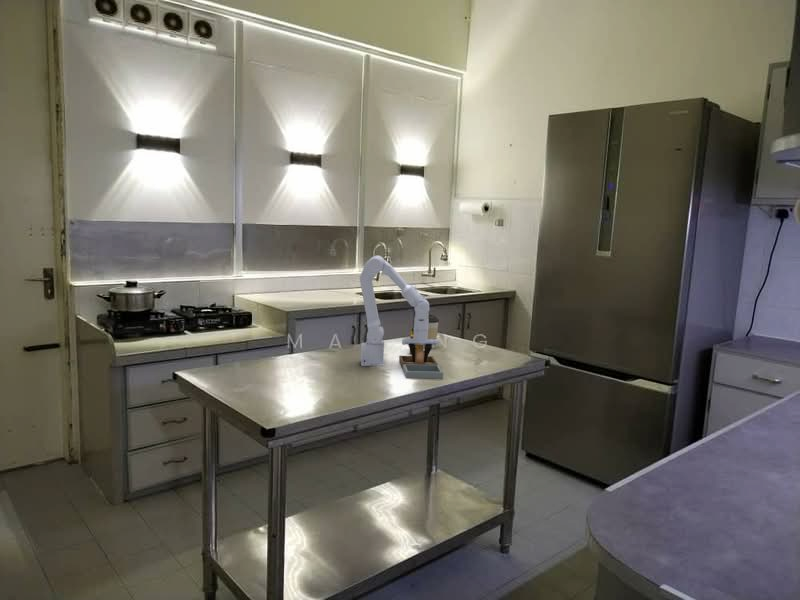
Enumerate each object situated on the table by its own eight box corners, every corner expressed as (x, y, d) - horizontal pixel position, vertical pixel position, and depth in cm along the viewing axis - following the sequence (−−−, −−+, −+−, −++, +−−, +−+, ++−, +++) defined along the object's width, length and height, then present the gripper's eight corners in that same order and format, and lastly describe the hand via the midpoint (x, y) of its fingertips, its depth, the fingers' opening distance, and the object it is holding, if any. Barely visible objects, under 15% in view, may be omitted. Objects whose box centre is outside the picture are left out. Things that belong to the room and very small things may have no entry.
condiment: (406, 355, 252) (407, 329, 250) (412, 351, 260) (413, 325, 258) (422, 358, 250) (423, 331, 248) (427, 353, 257) (429, 327, 256)
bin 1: (402, 370, 228) (402, 363, 228) (399, 362, 240) (399, 355, 239) (437, 371, 230) (437, 363, 229) (432, 363, 241) (432, 356, 241)
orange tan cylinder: (414, 366, 233) (415, 352, 232) (413, 364, 236) (414, 349, 236) (424, 366, 233) (425, 352, 232) (423, 364, 237) (423, 349, 236)
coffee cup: (437, 349, 266) (439, 317, 264) (418, 349, 266) (420, 317, 263) (436, 345, 275) (438, 314, 273) (417, 344, 275) (419, 313, 272)
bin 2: (405, 379, 216) (406, 371, 215) (402, 371, 227) (403, 364, 226) (442, 380, 217) (443, 372, 217) (437, 372, 228) (438, 364, 228)
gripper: (404, 330, 228) (402, 364, 230) (440, 331, 229) (438, 364, 231) (402, 327, 235) (400, 359, 237) (437, 328, 236) (435, 360, 238)
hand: (419, 362), depth 235 cm, fingers closed on orange tan cylinder, 4 cm apart
